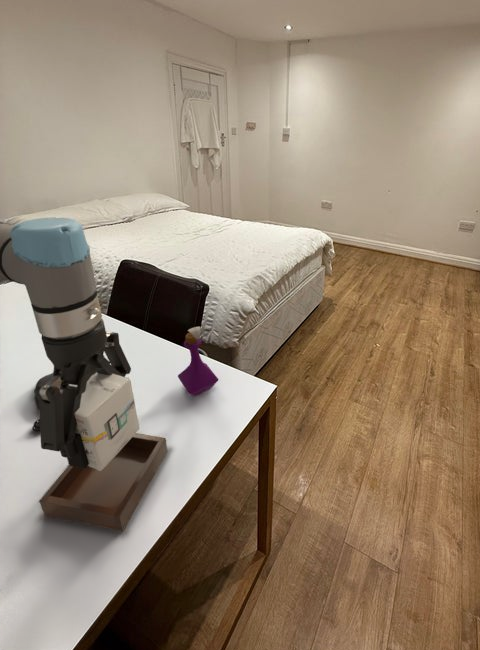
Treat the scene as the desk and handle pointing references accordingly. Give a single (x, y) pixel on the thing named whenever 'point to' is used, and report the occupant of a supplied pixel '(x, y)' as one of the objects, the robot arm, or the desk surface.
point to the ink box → (106, 417)
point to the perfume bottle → (196, 367)
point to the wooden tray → (107, 486)
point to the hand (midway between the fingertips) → (101, 437)
